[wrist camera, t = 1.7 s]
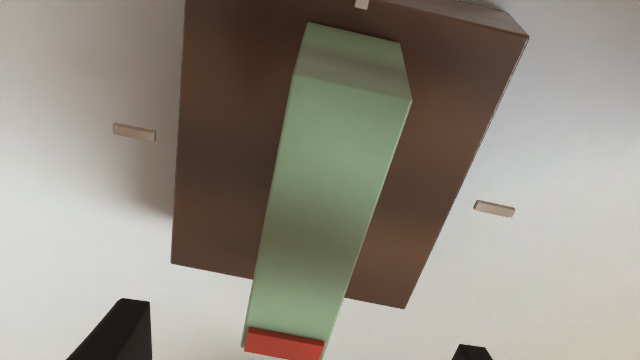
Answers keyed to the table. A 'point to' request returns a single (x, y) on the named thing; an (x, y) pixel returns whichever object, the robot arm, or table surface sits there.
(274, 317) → the mint green brick
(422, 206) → the brown piece
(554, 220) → the table surface
